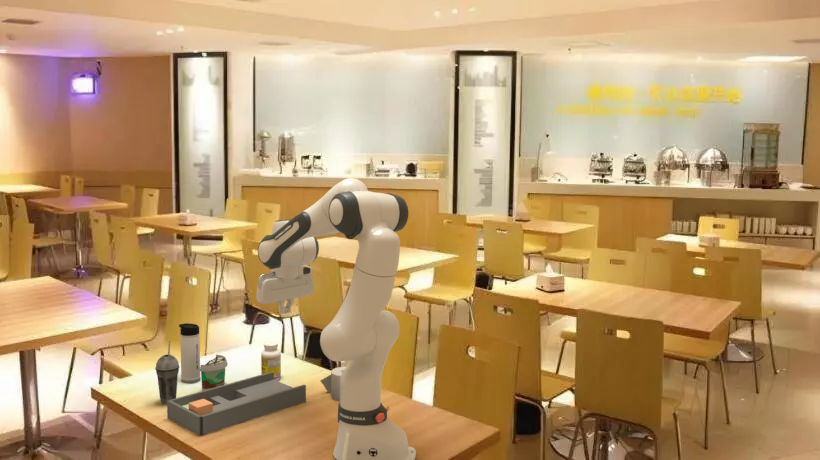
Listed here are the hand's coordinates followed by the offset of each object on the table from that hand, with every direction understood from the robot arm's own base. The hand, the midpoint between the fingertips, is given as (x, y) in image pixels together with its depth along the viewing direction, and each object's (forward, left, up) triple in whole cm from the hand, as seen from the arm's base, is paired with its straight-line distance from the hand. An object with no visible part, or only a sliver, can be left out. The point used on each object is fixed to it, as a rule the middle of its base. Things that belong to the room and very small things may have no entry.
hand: (285, 313), depth 242 cm
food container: (+26, -2, -29) cm, 39 cm away
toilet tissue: (-15, -11, -29) cm, 35 cm away
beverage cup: (+34, +14, -29) cm, 47 cm away
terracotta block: (+14, +26, -26) cm, 40 cm away
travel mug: (+39, -6, -29) cm, 49 cm away
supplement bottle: (+14, -17, -29) cm, 37 cm away
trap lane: (+10, +11, -29) cm, 33 cm away
